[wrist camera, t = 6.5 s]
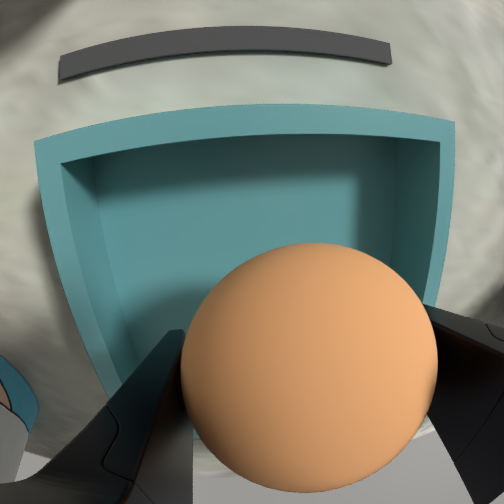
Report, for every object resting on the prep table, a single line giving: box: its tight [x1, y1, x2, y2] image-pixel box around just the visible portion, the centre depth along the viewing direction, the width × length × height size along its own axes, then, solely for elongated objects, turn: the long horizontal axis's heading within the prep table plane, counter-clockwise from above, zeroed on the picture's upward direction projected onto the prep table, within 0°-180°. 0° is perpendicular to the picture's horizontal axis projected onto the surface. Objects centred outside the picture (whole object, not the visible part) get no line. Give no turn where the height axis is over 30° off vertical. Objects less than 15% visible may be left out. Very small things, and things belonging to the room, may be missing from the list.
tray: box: [34, 104, 455, 439], centre depth 11 cm, size 13×12×3 cm
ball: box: [180, 243, 438, 493], centre depth 7 cm, size 6×6×6 cm
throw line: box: [60, 26, 392, 80], centre depth 9 cm, size 13×1×1 cm, turn 94°
